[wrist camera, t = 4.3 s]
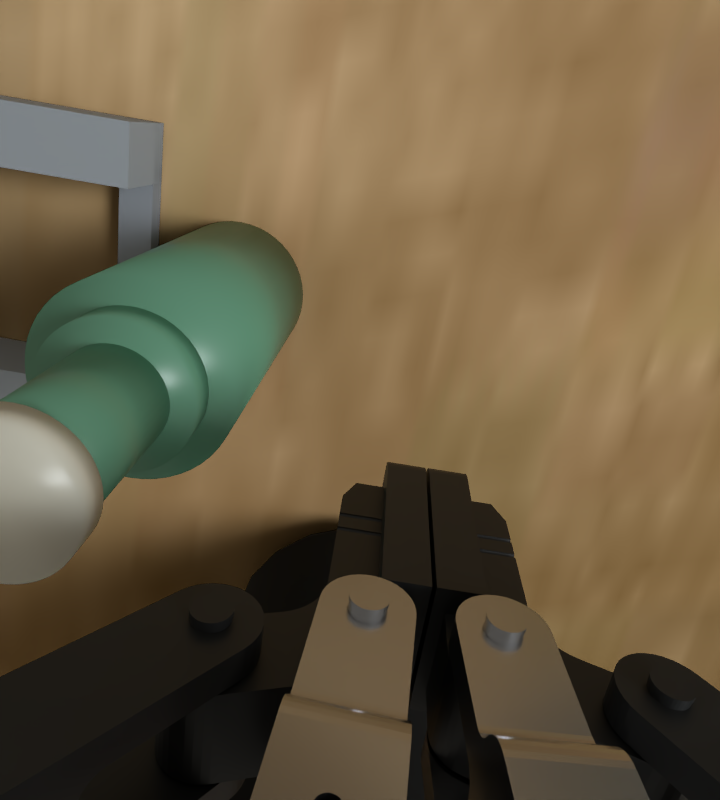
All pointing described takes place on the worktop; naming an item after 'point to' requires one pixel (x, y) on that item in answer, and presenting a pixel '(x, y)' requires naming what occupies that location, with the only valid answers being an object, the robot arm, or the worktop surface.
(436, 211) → the worktop surface
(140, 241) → the cradle
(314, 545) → the coffee jar
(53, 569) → the bottle
